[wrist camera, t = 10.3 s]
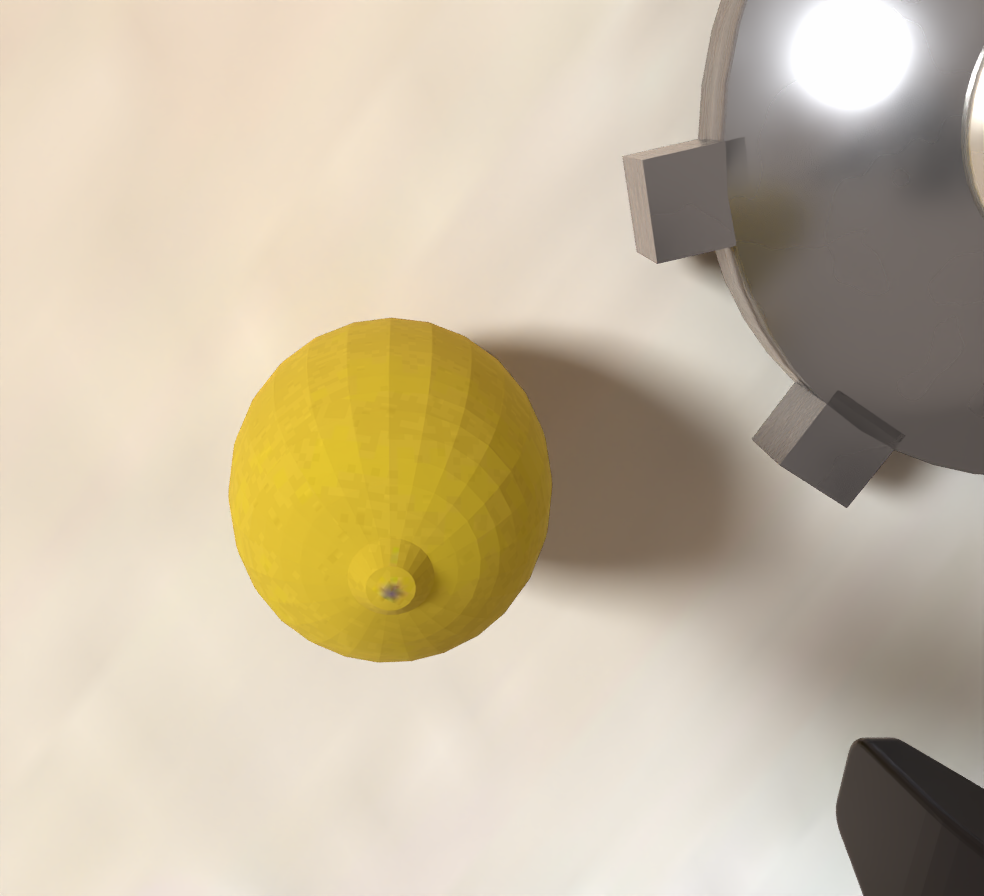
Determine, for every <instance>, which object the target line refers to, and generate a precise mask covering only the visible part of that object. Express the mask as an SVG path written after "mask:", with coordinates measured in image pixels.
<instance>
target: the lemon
mask: <svg viewBox="0 0 984 896" xmlns="http://www.w3.org/2000/svg"><path fill="white" fill-rule="evenodd" d="M551 494H552V476H551V470H550V464H549V458H548V451H547V445H546V439H545V436H544V432H543V430H542V428H541V425H540V423H539V421H538V419H537V417H536V414H535V412H534V410H533V408H532V406H531V403H530V401H529V399H528V397H527V395H526V393H525V392H524V390H523V389H522V388H521V387H520V386H519V384H518V383H517V382H516V381H515V380H514V378H513V377H512V376H511V375H510V374H509V372H508V371H507V370H506V369H505V368H504V366H503V365H502V364H501V363H500V362H499V361H498V360H497V359H496V358H495V357H493V356H492V355H490V354H489V353H488V352H486V351H485V350H483V349H482V348H481V347H479V346H478V345H476V344H475V343H474V342H472V341H471V340H469V339H468V338H467V337H465V336H463V335H460V334H457V333H455V332H452V331H450V330H447V329H445V328H442V327H439V326H437V325H434V324H432V323H429V322H422V321H414V320H406V319H397V318H386V319H378V320H370V321H363V322H355V323H352V324H349V325H347V326H344V327H342V328H339V329H336V330H334V331H331V332H329V333H326V334H324V335H321V336H319V337H316V338H314V339H313V340H312V341H310V342H309V343H308V344H306V345H305V346H304V347H302V348H301V349H299V350H298V351H297V352H295V353H294V354H293V355H291V356H290V357H289V358H287V359H286V360H284V361H283V362H282V363H281V364H280V365H279V367H278V368H277V369H276V370H275V372H274V373H273V374H272V375H271V377H270V378H269V379H268V380H267V382H266V383H265V384H264V385H263V387H262V388H261V389H260V391H259V392H258V393H257V394H256V396H255V397H254V399H253V400H252V403H251V405H250V407H249V410H248V412H247V414H246V417H245V419H244V421H243V424H242V426H241V428H240V431H239V433H238V436H237V438H236V441H235V444H234V450H233V458H232V466H231V475H230V483H229V504H230V510H231V516H232V522H233V529H234V535H235V541H236V546H237V549H238V552H239V555H240V557H241V559H242V561H243V563H244V566H245V568H246V570H247V572H248V574H249V576H250V579H251V581H252V583H253V585H254V587H255V589H256V590H257V591H258V593H259V594H260V595H261V597H262V598H263V599H264V600H265V601H266V603H267V604H268V605H269V606H270V607H271V609H272V610H273V611H274V612H275V614H276V615H277V616H278V617H279V618H280V620H281V621H283V622H284V623H285V624H287V625H288V626H290V627H291V628H292V629H294V630H295V631H296V632H298V633H299V634H301V635H302V636H303V637H305V638H306V639H307V640H309V641H311V642H313V643H315V644H317V645H319V646H322V647H324V648H327V649H329V650H331V651H334V652H336V653H338V654H341V655H343V656H346V657H351V658H357V659H362V660H368V661H373V662H399V661H413V660H417V659H421V658H425V657H429V656H433V655H437V654H441V653H444V652H446V651H448V650H450V649H452V648H454V647H456V646H458V645H460V644H462V643H464V642H466V641H468V640H470V639H472V638H474V637H476V636H478V635H479V634H481V633H482V632H483V631H484V630H485V629H486V628H488V627H489V626H490V625H491V624H492V623H493V622H495V621H496V620H497V619H498V618H499V617H501V616H502V615H503V614H504V613H505V612H506V610H507V609H508V608H509V606H510V605H511V604H512V602H513V601H514V599H515V598H516V597H517V595H518V594H519V593H520V591H521V590H522V588H523V587H524V586H525V584H526V583H527V582H528V580H529V579H530V577H531V574H532V571H533V569H534V566H535V564H536V561H537V559H538V556H539V554H540V551H541V549H542V546H543V544H544V541H545V539H546V535H547V530H548V522H549V512H550V503H551Z"/></svg>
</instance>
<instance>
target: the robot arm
mask: <svg viewBox="0 0 984 896" xmlns="http://www.w3.org/2000/svg"><path fill="white" fill-rule="evenodd" d="M836 818H837V824H838V828H839V831H840V834H841V837H842V839H843V842H844V845H845V847H846V850H847V853H848V856H849V858H850V861H851V864H852V866H853V869H854V872H855V874H856V877H857V880H858V883H859V885H860V888H861V891H862V893H863V896H984V789H983V788H981V787H980V786H978V785H976V784H975V783H973V782H971V781H970V780H968V779H966V778H964V777H963V776H961V775H959V774H958V773H956V772H954V771H953V770H951V769H949V768H947V767H946V766H944V765H942V764H941V763H939V762H937V761H936V760H934V759H932V758H930V757H929V756H927V755H925V754H924V753H922V752H920V751H919V750H917V749H915V748H913V747H912V746H910V745H908V744H907V743H905V742H903V741H901V740H899V739H896V738H860V739H858V740H856V741H855V742H854V743H853V744H852V745H851V747H850V750H849V753H848V757H847V761H846V766H845V770H844V774H843V778H842V782H841V786H840V790H839V794H838V798H837V804H836Z"/></svg>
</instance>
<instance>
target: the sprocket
mask: <svg viewBox="0 0 984 896" xmlns="http://www.w3.org/2000/svg"><path fill="white" fill-rule="evenodd" d="M622 157H623V163H624V170H625V177H626V183H627V190H628V197H629V203H630V210H631V216H632V223H633V230H634V236H635V243H636V250H637V252H638V253H640V254H641V255H643V256H645V257H646V258H648V259H650V260H652V261H653V262H655V263H657V264H659V263H663V262H667V261H672V260H676V259H681V258H685V257H689V256H694V255H698V254H702V253H707V252H711V251H715V253H716V256H717V259H718V262H719V265H720V268H721V271H722V274H723V277H724V280H725V282H726V284H727V286H728V288H729V290H730V292H731V294H732V296H733V298H734V300H735V302H736V304H737V306H738V308H739V310H740V312H741V314H742V316H743V318H744V320H745V321H746V323H747V324H748V326H749V327H750V329H751V330H752V331H753V333H754V334H755V336H756V337H757V339H758V340H759V342H760V343H761V345H762V346H763V347H764V349H765V350H766V352H767V353H768V354H769V355H770V356H771V357H772V359H773V360H774V361H775V362H776V363H777V364H778V365H779V366H780V367H781V368H782V369H783V370H784V371H785V372H786V374H787V375H788V376H789V377H790V378H791V379H792V380H793V381H794V382H795V383H794V384H793V386H792V387H791V388H790V390H789V391H788V392H787V394H786V395H785V396H784V397H783V399H782V400H781V401H780V403H779V404H778V405H777V407H776V408H775V409H774V411H773V412H772V413H771V415H770V416H769V417H768V418H767V420H766V421H765V422H764V424H763V425H762V426H761V428H760V429H759V430H758V432H757V433H756V434H755V436H754V437H753V438H752V440H753V441H754V442H755V443H756V444H757V445H758V446H760V447H761V448H762V449H763V450H764V451H765V452H766V453H767V454H768V455H769V456H770V457H771V458H772V459H774V460H775V461H776V462H777V463H778V464H779V465H780V466H782V467H783V468H785V469H786V470H788V471H790V472H791V473H793V474H794V475H796V476H797V477H799V478H801V479H802V480H804V481H805V482H807V483H808V484H810V485H812V486H813V487H815V488H816V489H818V490H819V491H821V492H822V493H824V494H826V495H827V496H829V497H830V498H832V499H833V500H835V501H837V502H838V503H840V504H841V505H843V506H844V507H846V508H847V507H848V506H849V505H850V504H851V502H852V501H853V500H854V499H855V497H856V496H857V495H858V494H859V493H860V491H861V490H862V489H863V488H864V486H865V485H866V484H867V483H868V481H869V480H870V479H871V478H872V476H873V475H874V474H875V473H876V472H877V470H878V469H879V468H880V467H881V465H882V464H883V463H884V462H885V460H886V459H887V458H888V457H889V456H890V454H891V453H892V452H893V451H894V450H896V451H899V452H901V453H904V454H907V455H909V456H912V457H914V458H917V459H920V460H922V461H925V462H927V463H930V464H933V465H937V466H941V467H946V468H950V469H955V470H959V471H963V472H968V473H972V474H983V475H984V0H721V2H720V5H719V8H718V12H717V15H716V18H715V21H714V25H713V28H712V32H711V37H710V43H709V48H708V54H707V59H706V65H705V70H704V75H703V81H702V88H701V104H700V119H699V135H698V139H697V140H692V141H688V142H683V143H679V144H675V145H670V146H666V147H661V148H657V149H652V150H648V151H644V152H639V153H635V154H630V155H626V156H622Z"/></svg>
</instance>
